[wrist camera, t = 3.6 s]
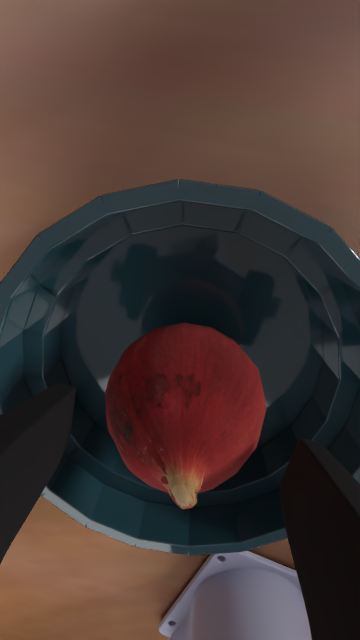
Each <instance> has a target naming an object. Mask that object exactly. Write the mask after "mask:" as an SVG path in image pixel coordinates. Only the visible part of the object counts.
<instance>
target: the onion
mask: <svg viewBox="0 0 360 640" xmlns="http://www.w3.org/2000/svg"><path fill="white" fill-rule="evenodd" d="M105 394H106V418H107V425H108V431H109V433H110V435H111V436H112V438H113V440H114V442H115V444H116V446H117V448H118V451H119V453H120V455H121V457H122V460H123V462H124V463H125V465H126V466H127V468H128V469H129V470H130V471H131V472H132V473H133V474H134V475H135V476H137V477H138V478H139V479H141V480H142V481H143V482H145V483H146V484H148V485H149V486H151V487H153V488H156V489H159V490H161V491H164V492H167V493H169V494H170V496H171V498H172V500H173V501H174V502H175V503H176V504H177V505H178V506H179V507H181V508H182V509H189V508H192V507H193V506H194V505H195V504H196V503H197V493H200V492H204V491H208V490H212V489H214V488H215V487H217V486H218V485H220V484H221V483H223V482H224V481H226V480H227V479H229V478H230V477H232V476H234V475H235V474H236V473H237V472H238V471H239V469H240V468H241V467H242V466H243V464H244V463H245V462H246V460H247V459H248V458H249V457H250V455H251V454H252V453H253V451H254V450H255V449H256V447H257V444H258V441H259V437H260V433H261V429H262V425H263V421H264V416H265V412H266V403H265V396H264V392H263V388H262V383H261V379H260V374H259V370H258V368H257V367H256V365H255V364H254V363H253V362H252V361H251V360H250V358H249V357H248V356H247V355H246V354H245V352H244V351H243V350H242V349H241V348H240V346H239V345H238V344H237V343H236V342H235V340H233V339H231V338H229V337H228V336H226V335H224V334H222V333H221V332H219V331H217V330H216V329H214V328H212V327H207V326H201V325H195V324H190V323H180V324H174V325H169V326H163V327H158V328H155V329H153V330H152V331H150V332H149V333H147V334H145V335H144V336H142V337H141V338H139V339H138V340H136V341H134V342H133V343H131V344H130V345H129V346H128V347H127V349H126V350H125V351H124V352H123V354H122V355H121V357H120V359H119V361H118V363H117V365H116V366H115V368H114V370H113V372H112V374H111V376H110V377H109V380H108V384H107V387H106V391H105Z"/></svg>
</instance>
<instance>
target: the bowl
mask: <svg viewBox="0 0 360 640" xmlns="http://www.w3.org/2000/svg"><path fill="white" fill-rule="evenodd" d="M180 323H190V324H195V325H201V326H207V327H212V328H214V329H216V330H217V331H219V332H221V333H222V334H224V335H226V336H228V337H229V338H231V339H233V340H235V342H236V343H237V344H238V345H239V346H240V348H241V349H242V350H243V351H244V352H245V354H246V355H247V356H248V357H249V358H250V360H251V361H252V362H253V363H254V364H255V365H256V367H257V368H258V370H259V374H260V379H261V383H262V388H263V392H264V396H265V403H266V412H265V416H264V421H263V425H262V429H261V433H260V437H259V441H258V444H257V447H256V449H255V450H254V451H253V453H252V454H251V455H250V457H249V458H248V459H247V460H246V462H245V463H244V464H243V466H242V467H241V468H240V469H239V471H238V472H237V473H236V474H235V475H234V476H232V477H230V478H229V479H227V480H226V481H224V482H223V483H221V484H220V485H218V486H217V487H215V488H214V489H212V490H208V491H204V492H200V493H197V503H196V504H195V505H194V506H193V507H192V508H189V509H182V508H181V507H179V506H178V505H177V504H176V503H175V502H174V501H173V500H172V498H171V496H170V494H169V493H167V492H164V491H161V490H159V489H156V488H153V487H151V486H149V485H148V484H146V483H145V482H143V481H142V480H141V479H139V478H138V477H137V476H135V475H134V474H133V473H132V472H131V471H130V470H129V469H128V468H127V466H126V465H125V463H124V462H123V460H122V457H121V455H120V453H119V451H118V448H117V446H116V444H115V442H114V440H113V438H112V436H111V435H110V433H109V431H108V425H107V418H106V394H105V391H106V387H107V384H108V380H109V377H110V376H111V374H112V372H113V370H114V368H115V366H116V365H117V363H118V361H119V359H120V357H121V355H122V354H123V352H124V351H125V350H126V349H127V347H128V346H129V345H130V344H131V343H133V342H134V341H136V340H138V339H139V338H141V337H142V336H144V335H145V334H147V333H149V332H150V331H152V330H153V329H155V328H158V327H163V326H169V325H174V324H180ZM56 383H60V384H65V385H69V386H73V387H76V394H75V402H74V410H73V417H72V425H71V433H70V440H69V442H68V444H67V447H66V449H65V451H64V453H63V456H62V458H61V460H60V462H59V464H58V466H57V468H56V470H55V472H54V474H53V475H52V477H51V479H50V480H49V482H48V484H47V485H46V487H45V489H44V490H43V492H42V494H41V496H42V497H43V498H45V499H46V500H48V501H49V502H50V503H52V504H53V505H55V506H56V507H58V508H59V509H60V510H62V511H63V512H65V513H66V514H67V515H69V516H70V517H72V518H73V519H74V520H76V521H77V522H79V523H80V524H81V525H83V526H85V527H86V528H89V529H91V530H94V531H96V532H99V533H101V534H104V535H106V536H109V537H111V538H114V539H116V540H119V541H121V542H124V543H126V544H129V545H131V546H135V547H138V548H144V549H151V550H157V551H163V552H170V553H176V554H182V555H189V556H192V555H207V554H222V553H236V552H243V551H248V550H251V549H254V548H257V547H260V546H264V545H267V544H270V543H273V542H277V541H280V540H283V539H286V538H288V537H287V533H286V529H285V525H284V521H283V514H282V507H281V499H280V490H279V486H280V483H281V481H282V478H283V476H284V474H285V471H286V469H287V466H288V464H289V462H290V459H291V457H292V454H293V452H294V450H295V447H296V445H297V442H298V440H299V438H303V439H308V440H312V441H317V442H319V443H320V444H321V445H322V446H323V447H324V448H326V449H327V450H328V451H329V452H330V453H331V454H332V455H333V456H334V457H335V459H336V460H337V461H338V462H339V463H340V464H341V465H342V466H343V467H344V468H345V469H346V470H347V471H348V472H349V473H350V474H351V475H352V476H353V477H354V478H355V479H356V480H357V481H358V482H359V483H360V258H359V257H358V256H357V255H356V254H355V253H354V252H353V250H352V249H351V248H350V247H349V246H348V245H347V244H346V243H345V242H344V240H343V239H342V238H341V237H340V236H339V235H338V234H337V233H336V232H335V230H334V229H332V228H331V227H330V226H328V225H326V224H324V223H322V222H320V221H319V220H317V219H315V218H313V217H311V216H309V215H307V214H305V213H303V212H301V211H299V210H297V209H295V208H294V207H292V206H290V205H288V204H286V203H284V202H282V201H280V200H278V199H276V198H274V197H272V196H271V195H269V194H267V193H265V192H263V191H259V190H255V189H248V188H240V187H233V186H226V185H218V184H211V183H204V182H197V181H189V180H182V179H181V180H177V179H176V180H171V181H167V182H162V183H157V184H152V185H147V186H142V187H137V188H133V189H128V190H123V191H118V192H113V193H108V194H104V195H101V196H98V197H97V198H95V199H93V200H92V201H90V202H89V203H87V204H85V205H84V206H82V207H80V208H79V209H77V210H76V211H74V212H72V213H71V214H69V215H67V216H66V217H64V218H63V219H61V220H59V221H58V222H56V223H55V224H53V225H51V226H50V227H48V228H46V229H45V230H43V231H42V232H40V233H39V234H38V235H36V237H35V238H34V239H33V240H32V242H31V243H30V244H29V246H28V247H27V248H26V250H25V251H24V252H23V254H22V255H21V256H20V257H19V259H18V260H17V261H16V263H15V264H14V265H13V267H12V268H11V269H10V271H9V272H8V273H7V275H6V276H5V277H4V278H3V280H2V281H1V282H0V415H1V414H3V413H5V412H7V411H9V410H10V409H12V408H14V407H16V406H18V405H20V404H21V403H23V402H25V401H27V400H28V399H30V398H32V397H34V396H35V395H37V394H39V393H40V392H42V391H44V390H46V389H47V388H49V387H51V386H53V385H55V384H56Z"/></svg>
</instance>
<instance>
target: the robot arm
mask: <svg viewBox="0 0 360 640" xmlns="http://www.w3.org/2000/svg"><path fill="white" fill-rule="evenodd" d="M75 394H76V387H73V386H69V385H65V384H60V383H56V384H55V385H53V386H51V387H49V388H47V389H46V390H44V391H42V392H40V393H39V394H37V395H35V396H34V397H32V398H30V399H28V400H27V401H25V402H23V403H21V404H20V405H18V406H16V407H14V408H12V409H10V410H9V411H7V412H5V413H3V414H1V415H0V564H1V562H2V560H3V558H4V556H5V554H6V552H7V550H8V549H9V547H10V545H11V543H12V541H13V540H14V538H15V536H16V535H17V533H18V531H19V530H20V528H21V526H22V525H23V523H24V521H25V520H26V518H27V517H28V515H29V513H30V512H31V510H32V508H33V507H34V505H35V503H36V502H37V500H38V498H39V497H40V495H41V494H42V492H43V490H44V489H45V487H46V485H47V484H48V482H49V480H50V479H51V477H52V475H53V474H54V472H55V470H56V468H57V466H58V464H59V462H60V460H61V458H62V456H63V453H64V451H65V449H66V447H67V444H68V442H69V440H70V433H71V425H72V417H73V410H74V402H75ZM279 490H280V499H281V507H282V514H283V521H284V525H285V529H286V533H287V537H288V541H289V545H290V549H291V553H292V557H293V560H294V564H295V568H296V571H295V570H293V569H291V568H288V567H286V566H283V565H281V564H279V563H276V562H274V561H271V560H269V559H266V558H264V557H262V556H259V555H257V554H254V553H252V552H250V551H243V552H236V553H222V554H210V556H209V557H208V558H207V560H206V561H205V562H204V564H203V565H202V566H201V568H200V569H199V570H198V572H197V573H196V574H195V576H194V577H193V578H192V580H191V581H190V583H189V584H188V585H187V587H186V588H185V589H184V591H183V592H182V593H181V595H180V596H179V597H178V599H177V600H176V601H175V603H174V604H173V605H172V607H171V608H170V609H169V611H168V612H167V613H166V615H165V616H164V618H163V619H162V620H161V622H160V623H159V629H158V630H159V632H160V633H161V634H162V635H164V636H167V637H170V638H171V640H360V483H359V482H358V481H357V480H356V479H355V478H354V477H353V476H352V475H351V474H350V473H349V472H348V471H347V470H346V469H345V468H344V467H343V466H342V465H341V464H340V463H339V462H338V461H337V460H336V459H335V457H334V456H333V455H332V454H331V453H330V452H329V451H328V450H327V449H326V448H324V447H323V446H322V445H321V444H320V443H319V442H317V441H312V440H308V439H303V438H299V440H298V442H297V445H296V447H295V450H294V452H293V454H292V457H291V459H290V462H289V464H288V466H287V469H286V471H285V474H284V476H283V478H282V481H281V483H280V486H279Z"/></svg>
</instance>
